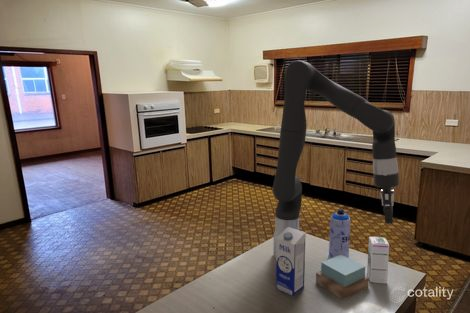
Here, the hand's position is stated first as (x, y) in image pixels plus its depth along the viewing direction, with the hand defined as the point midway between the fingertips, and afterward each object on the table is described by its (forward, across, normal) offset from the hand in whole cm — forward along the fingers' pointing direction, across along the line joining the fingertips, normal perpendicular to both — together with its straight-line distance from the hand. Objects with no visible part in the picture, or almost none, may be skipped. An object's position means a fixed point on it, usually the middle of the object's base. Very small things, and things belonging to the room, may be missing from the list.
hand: (389, 218), depth 110 cm
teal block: (+17, +8, -15) cm, 25 cm away
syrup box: (+22, 0, -6) cm, 23 cm away
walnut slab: (+21, +8, -16) cm, 28 cm away
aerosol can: (+20, -10, -20) cm, 30 cm away
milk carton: (+19, +18, -31) cm, 41 cm away
